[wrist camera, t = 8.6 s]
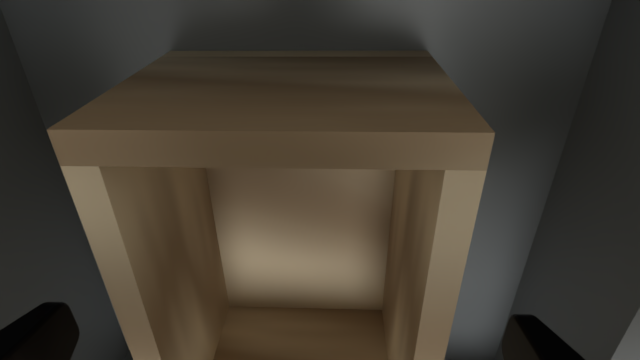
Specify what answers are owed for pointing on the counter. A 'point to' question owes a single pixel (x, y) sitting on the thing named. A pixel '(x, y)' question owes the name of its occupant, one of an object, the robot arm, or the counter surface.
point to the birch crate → (280, 203)
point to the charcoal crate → (366, 35)
